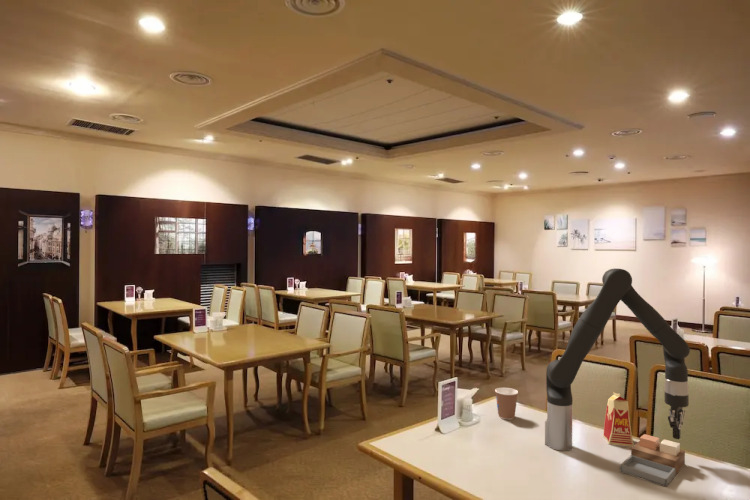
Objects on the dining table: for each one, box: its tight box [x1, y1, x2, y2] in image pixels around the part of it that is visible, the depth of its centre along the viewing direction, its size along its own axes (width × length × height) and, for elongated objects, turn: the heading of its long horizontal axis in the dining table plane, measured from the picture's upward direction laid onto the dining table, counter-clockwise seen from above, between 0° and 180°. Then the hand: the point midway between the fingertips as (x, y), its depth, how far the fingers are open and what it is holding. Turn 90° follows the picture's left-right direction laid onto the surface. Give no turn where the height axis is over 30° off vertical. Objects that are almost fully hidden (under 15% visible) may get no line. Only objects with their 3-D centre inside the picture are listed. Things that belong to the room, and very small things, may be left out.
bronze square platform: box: [630, 440, 686, 475], centre depth 169 cm, size 14×12×5 cm
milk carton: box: [603, 391, 635, 448], centre depth 188 cm, size 9×9×20 cm
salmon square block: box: [639, 433, 660, 450], centre depth 172 cm, size 5×5×3 cm
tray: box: [619, 454, 677, 487], centre depth 161 cm, size 14×11×2 cm
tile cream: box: [659, 439, 681, 456], centre depth 167 cm, size 5×5×3 cm
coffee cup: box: [494, 387, 519, 420], centre depth 214 cm, size 10×10×12 cm
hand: (676, 438), depth 172 cm, fingers closed
